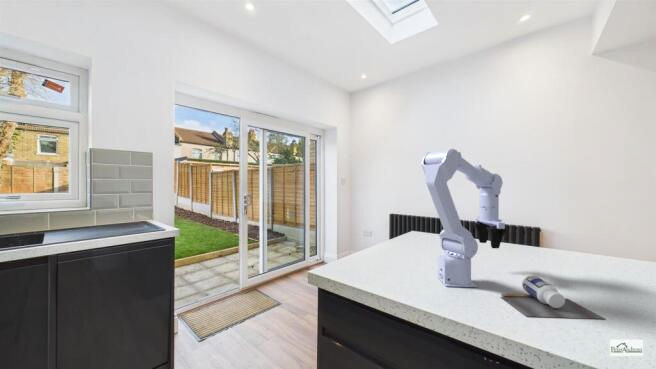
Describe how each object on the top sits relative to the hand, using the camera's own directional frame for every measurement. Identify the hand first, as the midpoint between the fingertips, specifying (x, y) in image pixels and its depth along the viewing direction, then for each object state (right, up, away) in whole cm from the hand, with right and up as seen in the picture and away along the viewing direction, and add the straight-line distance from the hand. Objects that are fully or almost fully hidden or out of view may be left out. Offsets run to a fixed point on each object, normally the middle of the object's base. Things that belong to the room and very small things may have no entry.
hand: (488, 245), depth 88 cm
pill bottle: (+2, -7, -16) cm, 18 cm away
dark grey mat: (0, -11, -23) cm, 25 cm away
